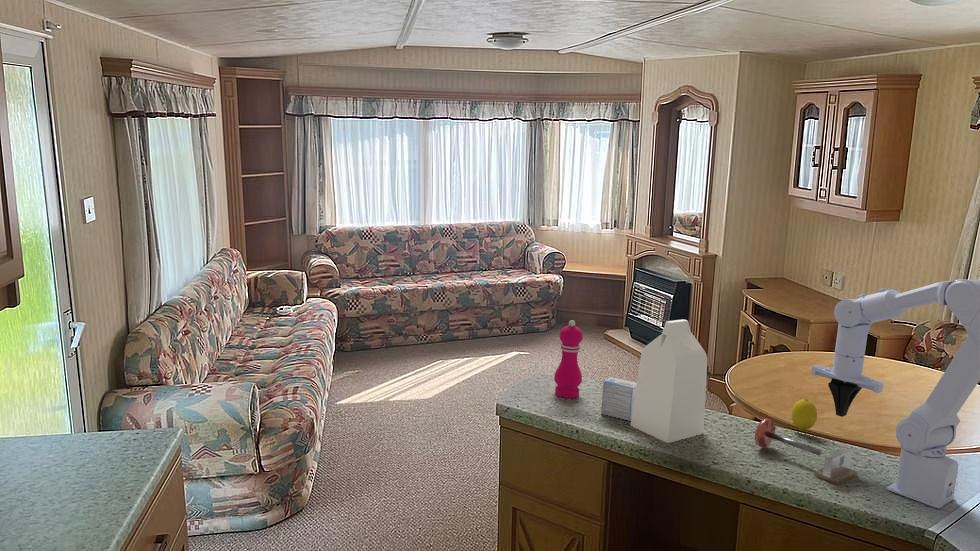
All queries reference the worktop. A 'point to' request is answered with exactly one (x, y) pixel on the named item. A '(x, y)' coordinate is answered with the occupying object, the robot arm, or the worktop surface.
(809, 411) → the lemon
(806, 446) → the red wheel with axle
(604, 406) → the grey rectangular block
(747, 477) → the worktop surface
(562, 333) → the pepper mill
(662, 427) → the milk
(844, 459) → the eye bracket
